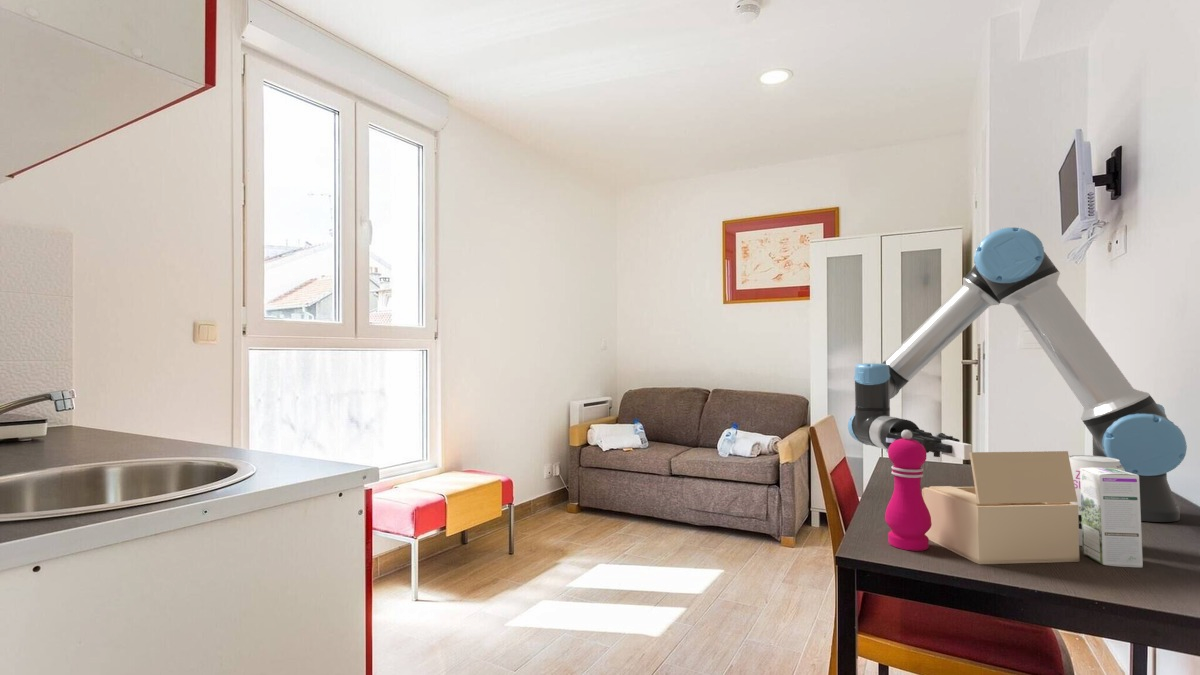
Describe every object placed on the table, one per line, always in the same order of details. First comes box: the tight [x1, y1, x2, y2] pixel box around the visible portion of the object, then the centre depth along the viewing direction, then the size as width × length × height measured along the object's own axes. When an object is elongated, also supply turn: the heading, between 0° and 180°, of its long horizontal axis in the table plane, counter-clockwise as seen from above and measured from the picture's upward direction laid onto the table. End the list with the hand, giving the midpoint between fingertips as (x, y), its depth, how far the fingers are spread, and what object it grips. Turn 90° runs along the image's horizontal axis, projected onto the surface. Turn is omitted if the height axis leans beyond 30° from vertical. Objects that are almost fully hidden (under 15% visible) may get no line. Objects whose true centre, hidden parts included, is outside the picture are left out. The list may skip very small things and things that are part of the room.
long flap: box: [970, 450, 1078, 504], centre depth 97 cm, size 17×1×8 cm, turn 94°
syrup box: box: [1080, 467, 1144, 569], centre depth 97 cm, size 6×6×14 cm
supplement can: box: [1069, 454, 1125, 548], centre depth 105 cm, size 8×8×15 cm
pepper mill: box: [884, 430, 932, 552], centre depth 105 cm, size 7×7×20 cm
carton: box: [921, 485, 1080, 565], centre depth 103 cm, size 17×15×9 cm
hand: (968, 452), depth 109 cm, fingers closed
